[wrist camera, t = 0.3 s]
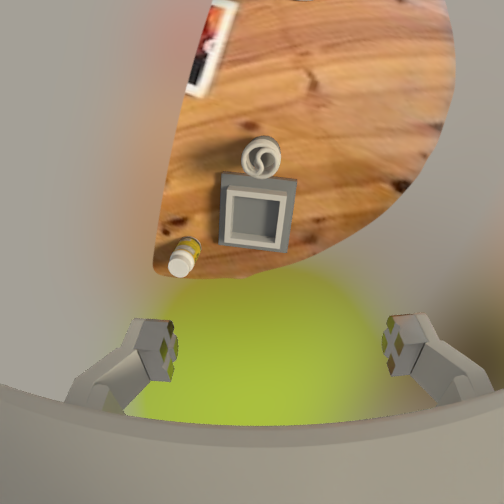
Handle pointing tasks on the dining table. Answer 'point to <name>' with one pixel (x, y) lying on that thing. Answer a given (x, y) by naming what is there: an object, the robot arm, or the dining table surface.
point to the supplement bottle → (184, 256)
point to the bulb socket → (256, 211)
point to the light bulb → (261, 157)
